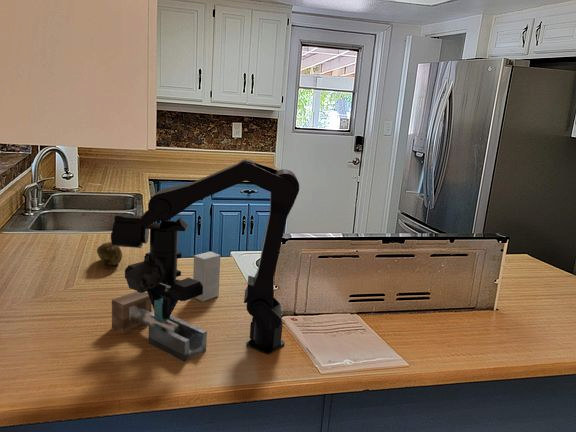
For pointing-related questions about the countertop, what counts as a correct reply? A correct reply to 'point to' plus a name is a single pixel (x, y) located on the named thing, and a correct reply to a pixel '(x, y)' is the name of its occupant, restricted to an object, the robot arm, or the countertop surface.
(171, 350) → the channel
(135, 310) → the rod
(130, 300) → the socket block
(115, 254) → the potato
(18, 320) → the countertop surface
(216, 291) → the skincare box
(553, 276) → the countertop surface
